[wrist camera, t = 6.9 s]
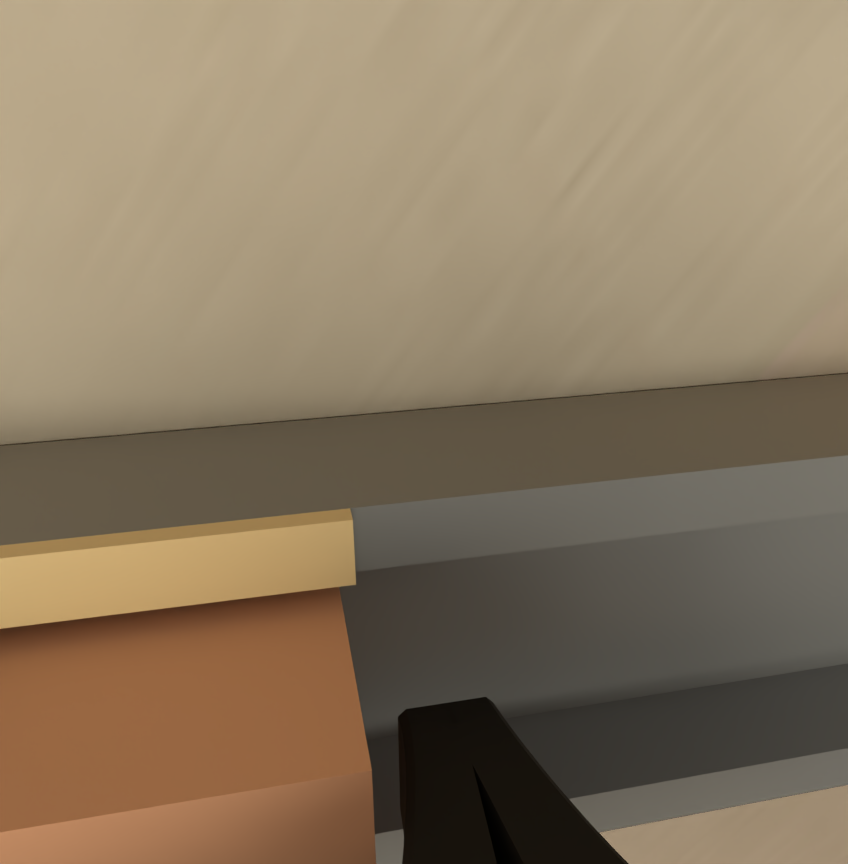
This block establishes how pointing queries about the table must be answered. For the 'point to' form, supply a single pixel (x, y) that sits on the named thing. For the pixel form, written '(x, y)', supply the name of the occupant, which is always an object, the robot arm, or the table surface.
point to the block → (186, 737)
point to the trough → (505, 573)
